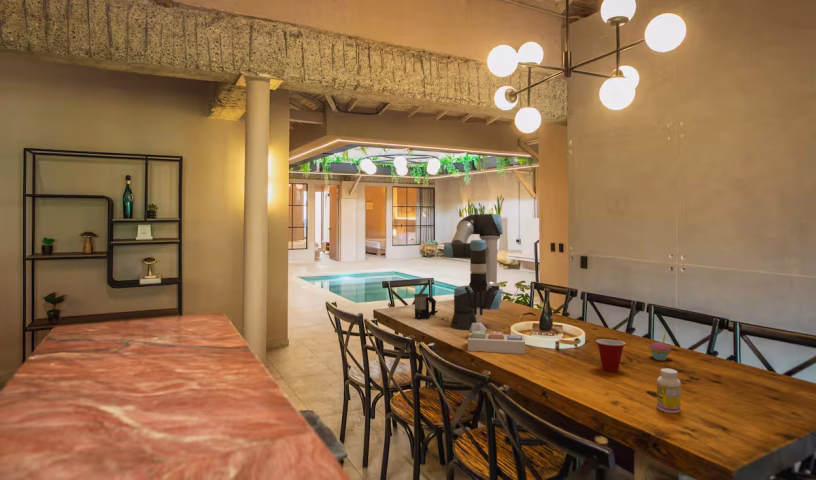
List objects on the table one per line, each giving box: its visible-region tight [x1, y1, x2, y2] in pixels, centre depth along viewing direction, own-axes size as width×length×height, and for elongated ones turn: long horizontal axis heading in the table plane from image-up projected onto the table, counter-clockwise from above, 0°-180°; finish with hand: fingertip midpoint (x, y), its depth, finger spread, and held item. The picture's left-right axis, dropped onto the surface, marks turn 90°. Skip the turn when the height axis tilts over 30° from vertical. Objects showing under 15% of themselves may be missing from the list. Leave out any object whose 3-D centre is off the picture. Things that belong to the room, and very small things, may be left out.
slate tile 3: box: [507, 334, 522, 340], centre depth 215 cm, size 6×6×4 cm
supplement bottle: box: [656, 367, 682, 414], centre depth 147 cm, size 7×7×13 cm
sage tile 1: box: [472, 331, 486, 339], centre depth 219 cm, size 6×6×4 cm
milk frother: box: [413, 293, 439, 320], centre depth 287 cm, size 14×16×15 cm
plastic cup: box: [595, 338, 626, 373], centre depth 185 cm, size 11×11×12 cm
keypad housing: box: [467, 333, 526, 355], centre depth 217 cm, size 12×26×6 cm, turn 78°
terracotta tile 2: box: [489, 330, 504, 340], centre depth 217 cm, size 6×6×4 cm
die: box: [468, 322, 488, 334], centre depth 237 cm, size 8×9×10 cm
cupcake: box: [648, 331, 672, 361], centre depth 199 cm, size 9×8×12 cm
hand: (478, 321), depth 218 cm, fingers closed
